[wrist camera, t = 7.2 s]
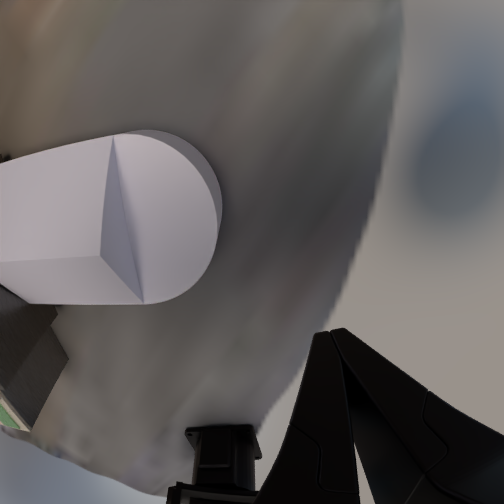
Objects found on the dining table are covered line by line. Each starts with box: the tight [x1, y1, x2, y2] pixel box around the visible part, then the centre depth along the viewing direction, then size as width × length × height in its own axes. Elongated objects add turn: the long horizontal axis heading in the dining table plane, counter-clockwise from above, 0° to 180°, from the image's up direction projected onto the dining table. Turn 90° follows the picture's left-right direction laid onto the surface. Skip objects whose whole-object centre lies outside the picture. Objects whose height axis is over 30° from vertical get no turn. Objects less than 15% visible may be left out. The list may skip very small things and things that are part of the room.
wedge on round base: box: [0, 130, 223, 305], centre depth 15 cm, size 9×7×13 cm
